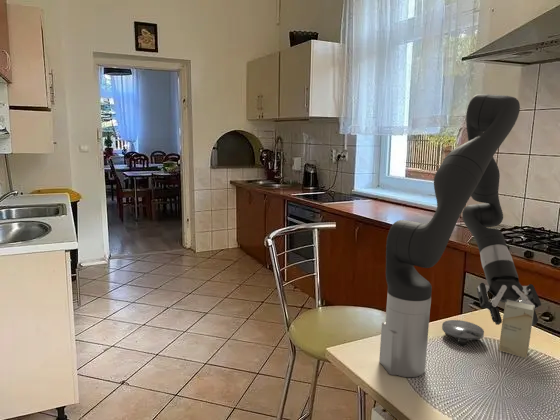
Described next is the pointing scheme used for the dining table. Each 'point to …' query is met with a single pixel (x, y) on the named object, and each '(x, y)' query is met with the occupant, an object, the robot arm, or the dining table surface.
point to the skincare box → (516, 328)
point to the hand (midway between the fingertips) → (516, 324)
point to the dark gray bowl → (462, 331)
